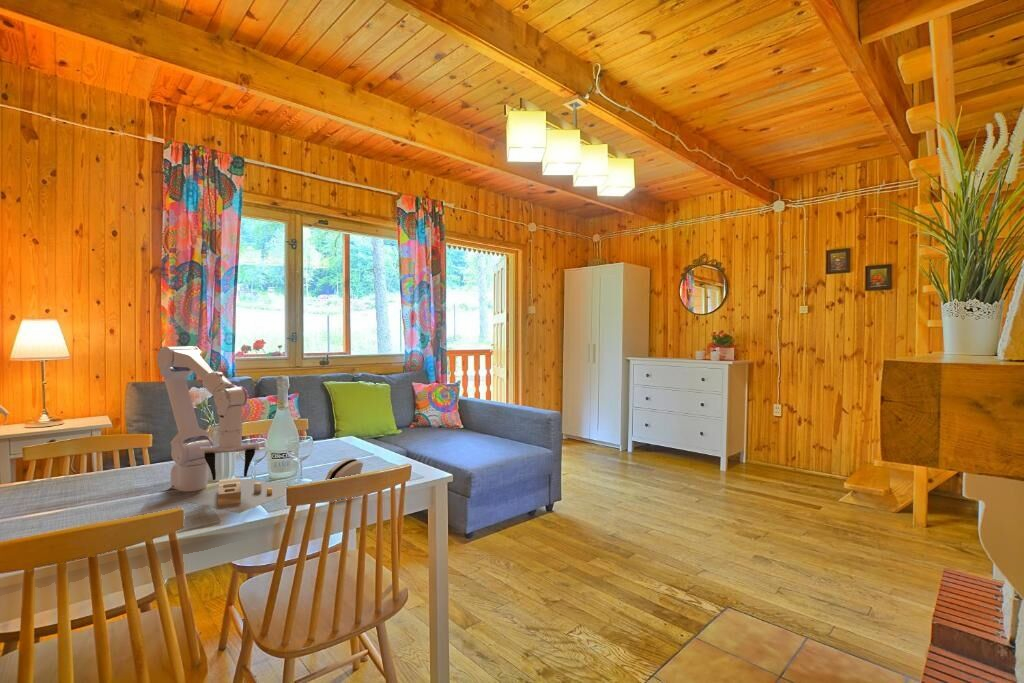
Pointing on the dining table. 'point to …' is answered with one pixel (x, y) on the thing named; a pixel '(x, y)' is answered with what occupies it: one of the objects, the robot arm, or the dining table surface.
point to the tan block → (229, 491)
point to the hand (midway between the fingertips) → (229, 477)
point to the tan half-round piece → (345, 468)
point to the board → (242, 496)
